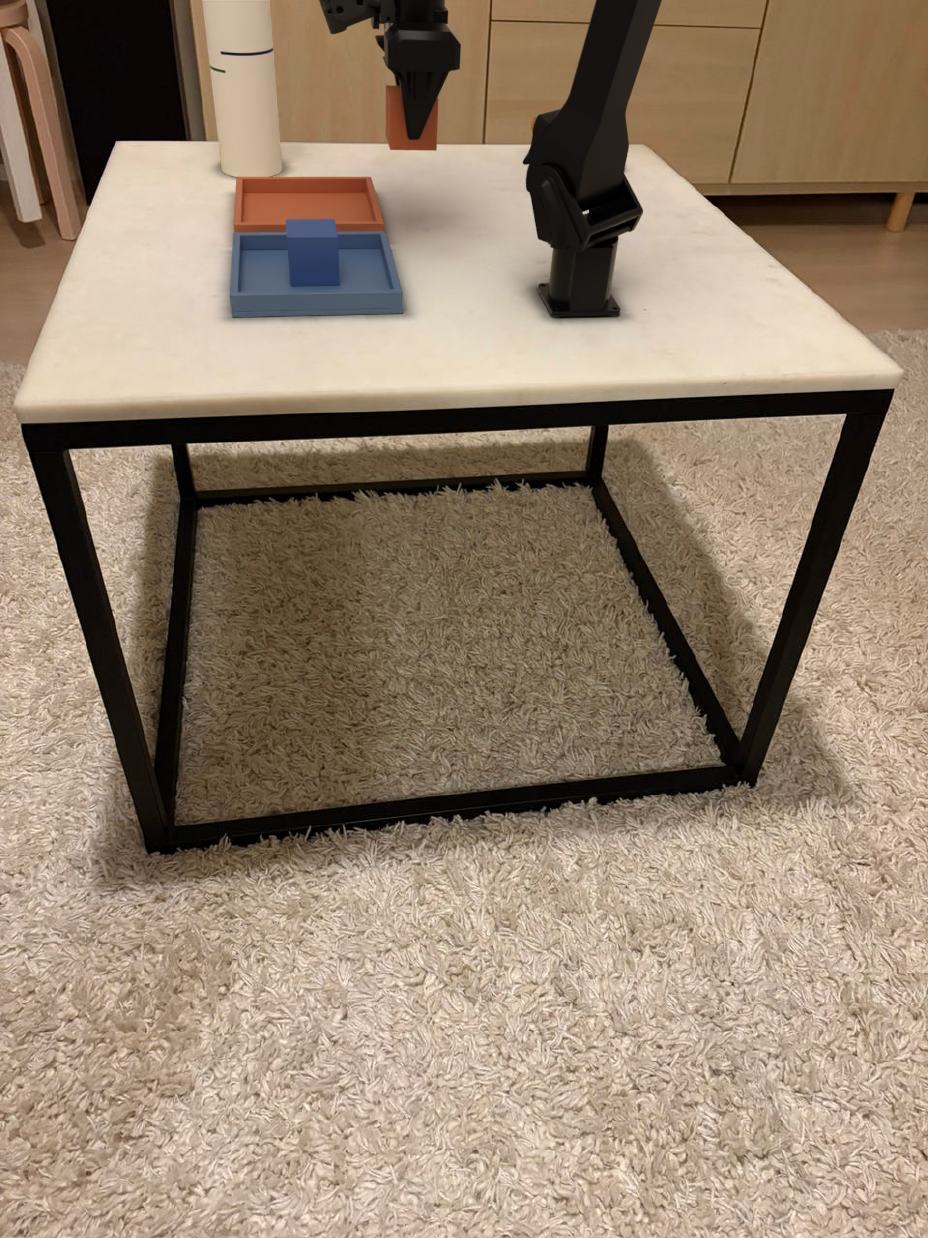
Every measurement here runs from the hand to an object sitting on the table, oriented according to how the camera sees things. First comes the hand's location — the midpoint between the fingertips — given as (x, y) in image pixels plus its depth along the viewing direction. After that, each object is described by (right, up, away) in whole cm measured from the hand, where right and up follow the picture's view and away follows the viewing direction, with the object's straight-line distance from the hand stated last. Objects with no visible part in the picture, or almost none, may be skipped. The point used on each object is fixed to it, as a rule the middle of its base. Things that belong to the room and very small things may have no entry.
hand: (410, 131), depth 91 cm
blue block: (-9, -15, -3) cm, 18 cm away
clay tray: (-12, -4, +10) cm, 16 cm away
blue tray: (-9, -16, -3) cm, 18 cm away
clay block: (0, -1, +1) cm, 1 cm away
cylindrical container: (-20, +6, +21) cm, 30 cm away
